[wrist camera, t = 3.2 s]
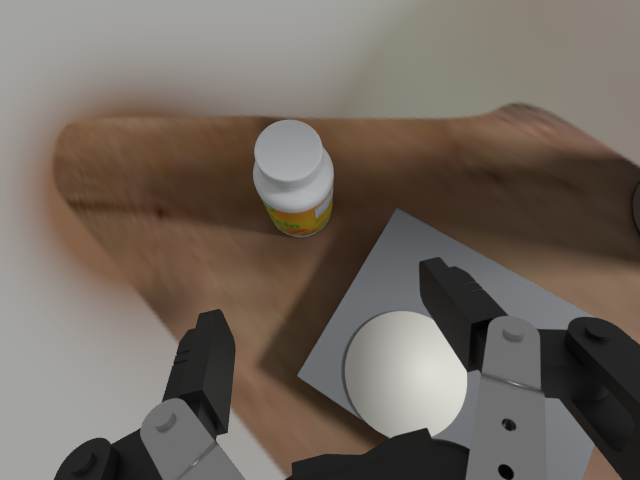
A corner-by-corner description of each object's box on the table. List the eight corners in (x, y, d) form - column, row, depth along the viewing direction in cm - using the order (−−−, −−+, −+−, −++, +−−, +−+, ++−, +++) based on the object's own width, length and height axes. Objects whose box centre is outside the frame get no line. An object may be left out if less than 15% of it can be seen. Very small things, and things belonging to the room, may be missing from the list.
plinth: (389, 220, 28) (397, 206, 25) (598, 337, 25) (636, 338, 22) (300, 370, 25) (296, 376, 22) (525, 521, 22) (557, 553, 19)
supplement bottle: (257, 217, 28) (222, 162, 19) (292, 169, 29) (275, 94, 20) (310, 250, 27) (301, 209, 18) (344, 199, 28) (352, 135, 19)
